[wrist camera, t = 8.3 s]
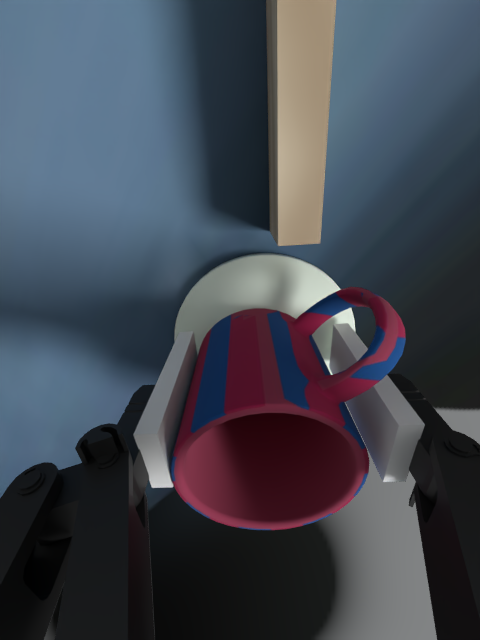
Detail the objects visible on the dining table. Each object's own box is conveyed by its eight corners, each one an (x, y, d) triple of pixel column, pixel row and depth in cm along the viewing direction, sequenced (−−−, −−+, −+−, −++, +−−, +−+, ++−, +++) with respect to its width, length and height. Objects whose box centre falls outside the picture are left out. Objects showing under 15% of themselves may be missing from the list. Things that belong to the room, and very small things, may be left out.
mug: (175, 364, 15) (131, 482, 9) (305, 229, 12) (375, 272, 6) (259, 421, 17) (269, 549, 11) (391, 318, 14) (510, 421, 8)
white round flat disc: (190, 407, 18) (189, 414, 17) (161, 259, 13) (157, 262, 13) (341, 401, 17) (344, 408, 17) (362, 246, 13) (367, 249, 12)
